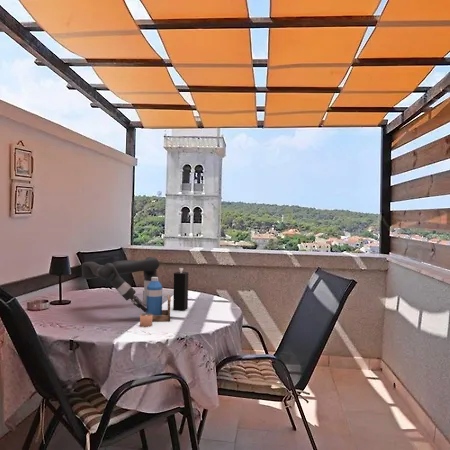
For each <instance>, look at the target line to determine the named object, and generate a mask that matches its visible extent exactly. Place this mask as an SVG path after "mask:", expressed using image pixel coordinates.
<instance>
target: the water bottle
mask: <svg viewBox="0 0 450 450" xmlns="http://www.w3.org/2000/svg"><path fill="white" fill-rule="evenodd" d="M146 308H147V311H146V312H145V313H148V314H152V315H162V310H163V285H162V284H161V282H160V280H159V277H151V282H150V283H149V284H148V286H147V305H146Z"/></svg>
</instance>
